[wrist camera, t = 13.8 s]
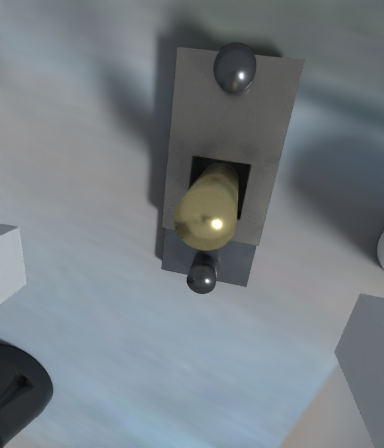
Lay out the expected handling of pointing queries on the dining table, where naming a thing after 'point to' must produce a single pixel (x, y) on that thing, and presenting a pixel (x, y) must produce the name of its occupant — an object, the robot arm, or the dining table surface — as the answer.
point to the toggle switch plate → (226, 148)
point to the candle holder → (381, 250)
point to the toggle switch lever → (209, 209)
